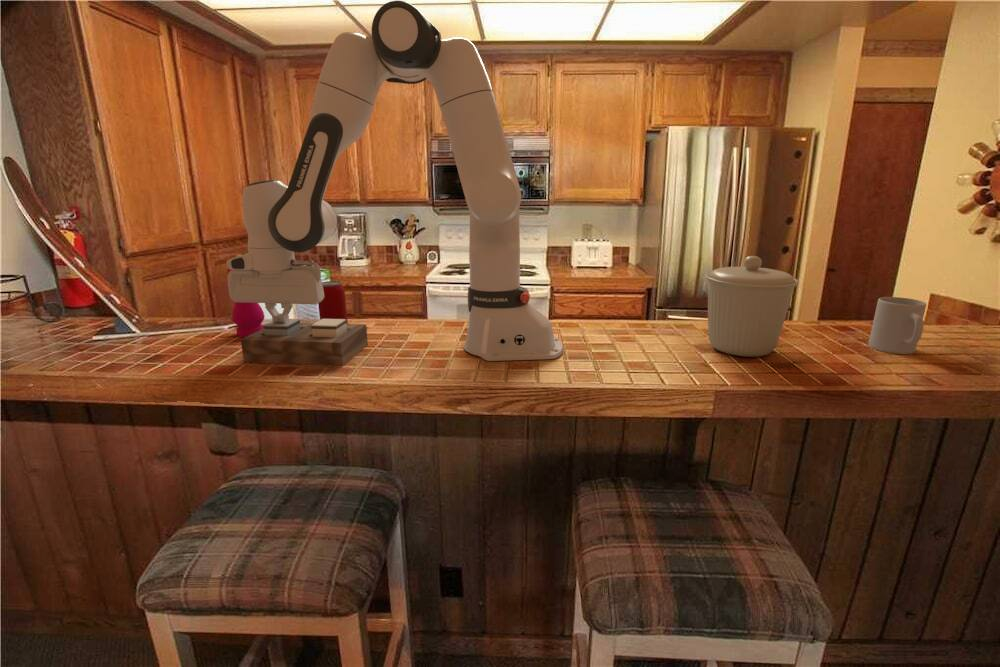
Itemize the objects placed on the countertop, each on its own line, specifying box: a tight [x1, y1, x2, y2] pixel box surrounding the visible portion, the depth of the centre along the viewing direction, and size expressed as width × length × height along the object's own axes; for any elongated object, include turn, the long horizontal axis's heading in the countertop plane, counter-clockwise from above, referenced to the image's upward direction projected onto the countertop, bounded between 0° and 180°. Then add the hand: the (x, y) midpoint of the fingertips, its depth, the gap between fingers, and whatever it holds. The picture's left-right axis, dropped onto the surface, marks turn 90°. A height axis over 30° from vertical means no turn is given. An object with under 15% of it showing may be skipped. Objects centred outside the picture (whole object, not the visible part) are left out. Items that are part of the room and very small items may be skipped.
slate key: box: [262, 318, 301, 336], centre depth 111 cm, size 6×6×5 cm
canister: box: [704, 255, 800, 358], centre depth 109 cm, size 18×18×21 cm
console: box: [240, 322, 369, 367], centre depth 111 cm, size 22×14×5 cm, turn 83°
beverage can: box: [317, 280, 349, 324], centre depth 130 cm, size 7×7×12 cm
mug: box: [868, 296, 927, 355], centre depth 110 cm, size 12×8×11 cm
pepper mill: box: [227, 254, 265, 338], centre depth 124 cm, size 7×7×20 cm
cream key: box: [311, 319, 348, 338], centre depth 110 cm, size 6×6×5 cm
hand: (280, 322), depth 111 cm, fingers closed, pressing on slate key
